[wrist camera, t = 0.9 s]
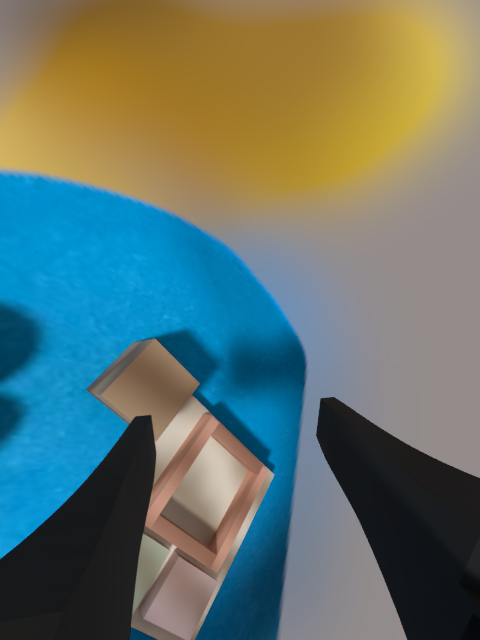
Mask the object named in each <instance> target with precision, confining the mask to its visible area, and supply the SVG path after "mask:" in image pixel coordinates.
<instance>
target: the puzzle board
mask: <svg viewBox="0 0 480 640" xmlns="http://www.w3.org/2000/svg"><path fill="white" fill-rule="evenodd" d="M155 446H156V454H157V455H156V466H155V476H154V483H153V488H152V493H151V498H150V503H149V508H148V513H147V517H146V522H145V527H144V532H143V537H142V542H141V547H140V553H139V560H138V568H137V576H136V585H135V593H134V602H133V611H132V620H131V627H132V628H135V629H137V630H139V631H141V632H143V633H145V634H147V635H149V636H151V637H154V638H156V639H158V640H195V638H196V636H197V634H198V632H199V630H200V628H201V626H202V624H203V622H204V620H205V618H206V616H207V614H208V611H209V609H210V607H211V605H212V603H213V601H214V599H215V597H216V595H217V593H218V591H219V589H220V587H221V585H222V582H223V580H224V578H225V576H226V574H227V572H228V570H229V568H230V566H231V564H232V562H233V560H234V558H235V555H236V553H237V551H238V549H239V547H240V545H241V543H242V541H243V539H244V537H245V535H246V533H247V531H248V529H249V526H250V524H251V522H252V520H253V518H254V516H255V514H256V512H257V510H258V508H259V506H260V504H261V502H262V500H263V497H264V495H265V493H266V491H267V489H268V487H269V485H270V483H271V481H272V479H273V477H274V474H273V473H272V472H271V471H270V470H269V469H268V468H267V467H266V466H265V465H264V464H263V463H262V462H261V461H260V460H259V459H258V458H257V457H256V456H255V455H253V454H252V453H251V452H250V451H249V450H248V449H247V448H246V447H245V446H244V445H243V444H242V443H241V442H240V441H239V440H238V439H237V438H236V437H235V436H234V435H233V434H232V433H231V432H230V431H229V430H228V429H227V428H226V427H225V426H224V425H223V424H222V423H221V422H220V421H218V420H217V419H216V418H215V417H214V416H213V415H212V414H211V413H210V412H209V411H208V410H207V409H206V408H205V407H204V406H203V405H202V404H201V403H200V402H199V401H198V400H197V399H196V398H195V397H194V396H193V395H191V396H190V398H189V399H188V400H187V402H186V403H185V404H184V406H183V407H182V408H181V410H180V411H179V412H178V414H177V415H176V416H175V418H174V419H173V420H172V422H171V423H170V424H169V426H168V427H167V428H166V430H165V431H164V432H163V433H162V435H161V436H160V437H159V439H158V440H157V441H155Z"/></svg>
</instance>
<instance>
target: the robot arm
mask: <svg viewBox="0 0 480 640" xmlns="http://www.w3.org/2000/svg"><path fill="white" fill-rule="evenodd" d="M316 436H317V439H318V441H319V444H320V447H321V449H322V451H323V454H324V456H325V458H326V460H327V462H328V464H329V466H330V468H331V470H332V471H333V473H334V475H335V477H336V479H337V481H338V482H339V484H340V486H341V488H342V489H343V491H344V493H345V495H346V497H347V498H348V500H349V502H350V504H351V506H352V508H353V509H354V511H355V513H356V515H357V517H358V519H359V521H360V523H361V525H362V528H363V530H364V533H365V535H366V537H367V539H368V542H369V544H370V546H371V548H372V551H373V553H374V555H375V558H376V560H377V563H378V565H379V568H380V570H381V572H382V575H383V577H384V579H385V582H386V585H387V587H388V590H389V592H390V595H391V598H392V600H393V603H394V605H395V608H396V610H397V613H398V615H399V618H400V621H401V624H402V626H403V629H404V632H405V635H406V637H407V640H480V478H478V477H475V476H473V475H470V474H468V473H466V472H463V471H461V470H459V469H456V468H454V467H452V466H449V465H447V464H445V463H443V462H441V461H438V460H437V459H435V458H432V457H430V456H429V455H427V454H425V453H423V452H420V451H419V450H417V449H415V448H413V447H411V446H409V445H407V444H406V443H404V442H402V441H400V440H399V439H397V438H396V437H394V436H392V435H391V434H389V433H387V432H386V431H384V430H382V429H381V428H379V427H378V426H376V425H374V424H373V423H371V422H370V421H369V420H367V419H366V418H364V417H363V416H361V415H360V414H358V413H357V412H355V411H354V410H353V409H351V408H350V407H348V406H347V405H345V404H344V403H342V402H341V401H339V400H338V399H336V398H334V397H330V398H321V401H320V409H319V417H318V425H317V434H316ZM156 455H157V454H156V446H155V439H154V431H153V424H152V416H151V415H144V416H136V417H135V418H134V419H133V420H132V421H131V423H130V424H129V426H128V427H127V429H126V430H125V431H124V433H123V434H122V436H121V437H120V438H119V440H118V441H117V443H116V444H115V445H114V446H113V448H112V449H111V450H110V452H109V453H108V454H107V456H106V457H105V458H104V459H103V461H102V462H101V463H100V464H99V465H98V467H97V468H96V469H95V470H94V471H93V472H92V474H91V475H90V476H89V477H88V478H87V480H86V481H85V482H84V483H83V484H82V485H81V486H80V487H79V488H78V489H77V490H76V492H75V493H74V494H73V495H72V496H71V497H70V498H69V499H68V500H67V501H66V502H65V503H64V504H63V505H62V506H61V507H60V508H59V509H58V510H57V511H56V512H54V513H53V514H52V515H51V516H50V517H49V518H48V519H47V520H46V521H45V522H44V523H43V524H42V525H40V526H39V527H38V528H37V529H36V530H35V531H34V532H33V533H32V534H30V535H29V536H28V537H27V538H26V539H25V540H23V541H22V542H21V543H20V544H19V545H17V546H16V547H15V548H14V549H13V550H11V551H10V552H9V553H8V554H6V555H5V556H4V557H3V558H1V559H0V640H129V639H130V629H131V620H132V611H133V602H134V593H135V585H136V576H137V568H138V560H139V553H140V547H141V542H142V537H143V532H144V527H145V522H146V517H147V513H148V508H149V503H150V498H151V493H152V488H153V483H154V476H155V466H156Z"/></svg>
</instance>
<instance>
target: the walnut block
mask: <svg viewBox="0 0 480 640" xmlns="http://www.w3.org/2000/svg"><path fill="white" fill-rule="evenodd" d="M199 384H200V383H199V382H198V381H197V380H196V379H195V378H194V377H193V376H192V375H191V374H190V373H189V372H188V371H187V370H186V369H185V368H184V367H183V366H182V365H181V364H180V363H179V362H178V361H177V360H176V359H175V358H174V357H173V356H172V355H171V354H170V353H169V352H168V351H167V350H166V349H165V348H164V347H163V346H162V345H161V344H160V343H159V342H158V341H157V340H156V339H149V340H144V341H138V342H133V343H132V344H131V345H130V346H129V347H128V348H127V349H126V350H125V351H124V352H123V353H122V354H121V355H120V356H119V357H118V358H117V359H116V360H115V361H114V362H113V363H112V364H111V365H110V366H109V367H108V368H107V369H106V370H105V371H104V372H103V373H102V374H101V375H100V376H99V377H98V378H97V379H96V380H95V381H94V382H93V383H92V384H91V385H90V386H89V387H88V388H87V389H86V390H87V391H88V392H89V393H91V394H92V395H93V396H94V397H95V398H97V399H98V400H99V401H100V402H102V403H103V404H104V405H105V406H106V407H108V408H109V409H110V410H111V411H113V412H114V413H115V414H116V415H117V416H119V417H120V418H121V419H122V420H124V421H125V422H126V423H127V424H130V423H131V421H132V420H133V419H134V418H135V417H136V416H144V415H151V416H152V424H153V431H154V439H155V441H157V440H158V439H159V437H160V436H161V435H162V433H163V432H164V431H165V430H166V428H167V427H168V426H169V424H170V423H171V422H172V420H173V419H174V418H175V416H176V415H177V414H178V412H179V411H180V410H181V408H182V407H183V406H184V404H185V403H186V402H187V400H188V399H189V398H190V396H191V395H192V394H193V392H194V391H195V390H196V388H197V387H198V386H199Z"/></svg>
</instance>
